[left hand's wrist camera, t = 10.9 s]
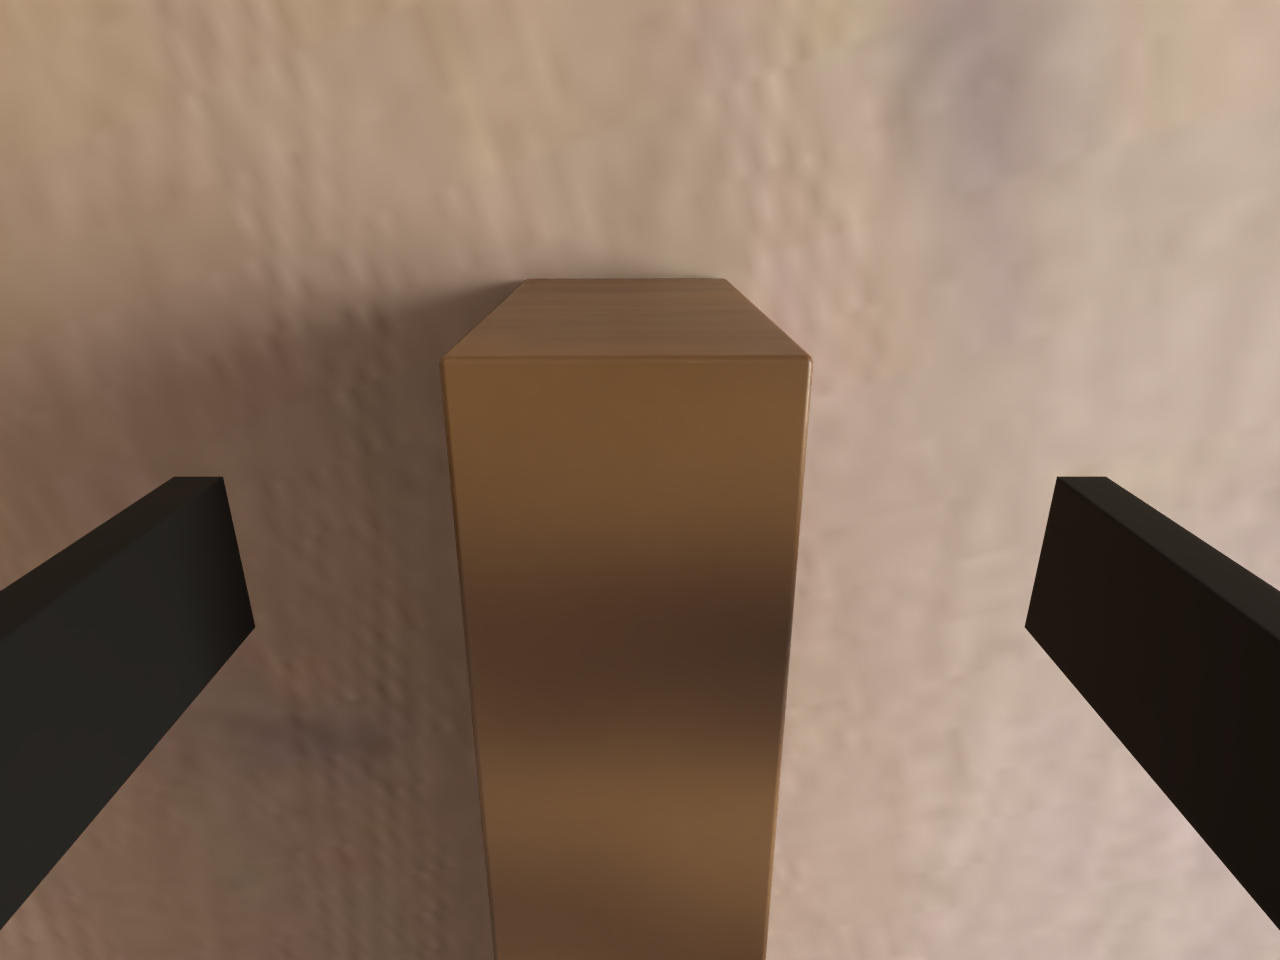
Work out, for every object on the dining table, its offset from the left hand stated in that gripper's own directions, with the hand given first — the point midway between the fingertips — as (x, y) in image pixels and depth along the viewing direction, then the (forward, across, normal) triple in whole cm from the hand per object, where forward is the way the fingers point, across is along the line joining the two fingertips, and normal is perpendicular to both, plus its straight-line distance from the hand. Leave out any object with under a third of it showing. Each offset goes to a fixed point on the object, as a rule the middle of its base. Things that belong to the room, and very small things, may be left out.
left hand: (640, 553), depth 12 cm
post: (+6, 0, -27) cm, 28 cm away
